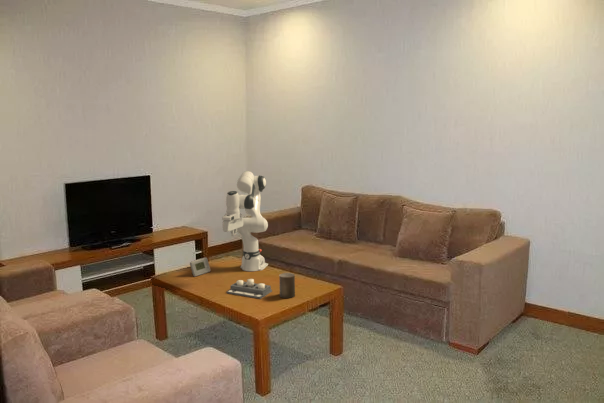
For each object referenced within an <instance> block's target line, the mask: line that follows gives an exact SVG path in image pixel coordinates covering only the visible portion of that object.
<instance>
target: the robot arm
mask: <svg viewBox="0 0 604 403" xmlns="http://www.w3.org/2000/svg"><path fill="white" fill-rule="evenodd" d="M236 182H237V183H236V187H237V189H238V190H239V191H240V192H241V193H244V194H239V191H236V190H230V191H228V192H227V193H226V196H225V197H226V198H225V207H226V213H225V214H224V215H223V216H222V217H221V218H222V219H221V220H222V231H223V232H224V233H229V232H230V234H231V237H234V236H237V233H238V235H240V236H241V239H242V245H243V250H242V257H241V265H240V269H241V270H242V271H245V272H257V271H263V270H265V268H267V267H268V265H269V263H267V262H266V260H265V257H264V256H263V255H261V252H262V249H261V248H259V240H258V238H257V237H255V236H253V235H252V233H263V232H266V231H267V230H268V227H269V222H268V221H267V219H266V218H265V217H264V216H262V214H261V202H262V199H261V196H262V194H261V193H262V192H263V190H264V189H265V188H266V186H267V180H266V178H265V176H264V175H254V173H253V172H252V171H249V170H246V171H244V172H242V173H241V174H240V176H239V178H238V180H237V181H236ZM241 210H244V212H245V213H246V214H247V215H248V216H250V217H243V215H242V214H241Z"/></svg>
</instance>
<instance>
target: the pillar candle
mask: <svg viewBox="0 0 604 403" xmlns="http://www.w3.org/2000/svg"><path fill="white" fill-rule="evenodd" d="M278 276H279V297H280V298H282V299H283V298H284V299H291V298H294V297H295V296H296V287H295V286H296V283H295V282H296V281H295V280H296V278H295V273H292V272H282V273H280V274H278Z"/></svg>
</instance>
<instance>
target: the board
mask: <svg viewBox="0 0 604 403" xmlns="http://www.w3.org/2000/svg"><path fill="white" fill-rule="evenodd" d="M258 284H259V283H256V282H254V287H247V281H243V285H242V286H239V285H237V281H236V282H234V283H232V284H231V285H230V288H229V290H227V291H226V294H230V295H234V296H241V297H247V298H252V299H259V300H261V299H263V298H265V297H266V296H267V295H269V294H270V293H272V292H273V290H272V287H271V286H272V285H268V284H265V288H264V289H258Z"/></svg>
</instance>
